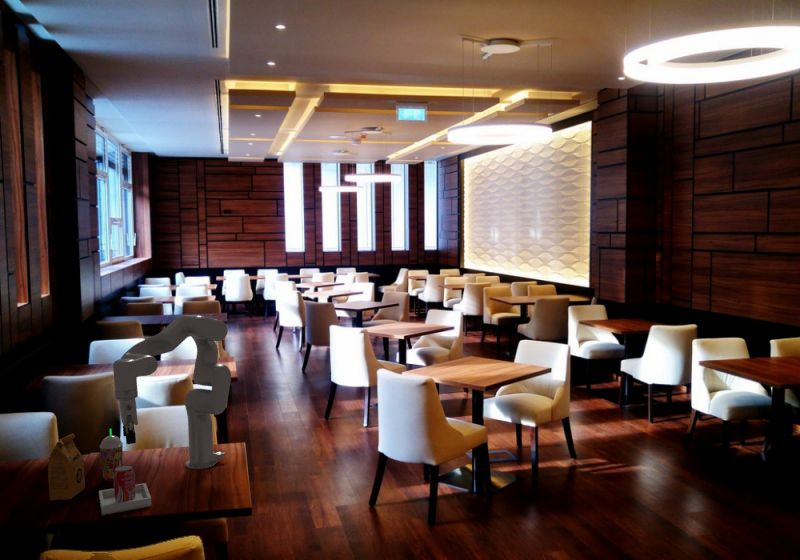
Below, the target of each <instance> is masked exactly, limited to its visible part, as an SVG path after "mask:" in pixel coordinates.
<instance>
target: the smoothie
mask: <svg viewBox="0 0 800 560" xmlns="http://www.w3.org/2000/svg"><path fill="white" fill-rule="evenodd" d="M123 446H124V443H123V442H122V440H121V438H120V437H118V436H117V435H113V433H112V428H109V435H108V436H105V438H103V439H102V441H101V443H100V445H99V450H100V459H101V469H102V476H103V477H102V478H104V481H106V482H114V472H115V468H116V467H118V466H122V465H123V451H124V450H123Z"/></svg>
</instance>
